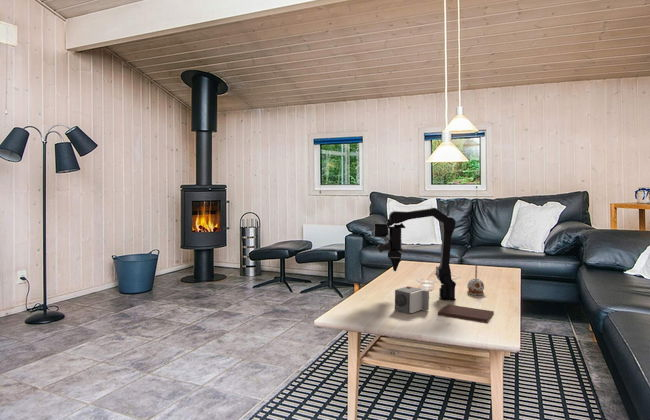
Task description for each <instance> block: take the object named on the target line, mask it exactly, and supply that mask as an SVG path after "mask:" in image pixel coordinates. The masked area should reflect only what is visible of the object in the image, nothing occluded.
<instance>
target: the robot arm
mask: <svg viewBox="0 0 650 420" xmlns="http://www.w3.org/2000/svg"><path fill="white" fill-rule="evenodd" d="M429 217H433V218H435V219H436V220H437V221H438V222H439V223H440V229H441V236H442V238H441V249H440V262H439V265H438V266H435V273H434V275H435V276H436V279H437V280H438V282H440V287H439V291H438V292H439V294H438V296H439V298H440V299H441V300H442V301H456V300H457V299H456V287H457V283H456V282H455V281H454V280H453V279H452V272H451V266H450V263H451V251H452V250H451V247H452V237H453V234H454V231H455V228H456V224H457V222H456V220H455V218H454V217H451V216H447V215H445V213H443V212H441V211H440V210H439V209H438V208H437V207H431V208H425V209H424V208H423V209H417V210H411V211H405V210H404V211H402V210H400V211H399V210H393V211H391V212H390V213H389V214H388V219H387V220H386V221H385V223H378V222H377V223H376V222H375V223H374V227H373V237H374V238H386V237H387V236H388V237H389V239H388V241H387V242H382V243H379V244H378V245H377V250H378V252H379V253H382V252H384V251H388V252H387V258H388V259H389V260H390V261H391V266H392V270H393V272H396V271H397V270H398V267H399V264H400V262H401V259H402V255H403V247H402V229H406V226H405V225H404V224H403V223H404V222H406V221H409V220H414V219H422V218H429Z"/></svg>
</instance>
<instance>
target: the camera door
mask: <svg viewBox="0 0 650 420" xmlns="http://www.w3.org/2000/svg"><path fill="white" fill-rule="evenodd" d="M421 289H422V288H421ZM429 305H430V290H427V289H422V290H418V291H415V292H412V293H410V306H409V314H413V313H417V312H420V311H421V310H422V311H427V312H428V311H429V307H430V306H429Z"/></svg>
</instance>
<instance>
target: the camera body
mask: <svg viewBox="0 0 650 420" xmlns="http://www.w3.org/2000/svg"><path fill="white" fill-rule="evenodd" d="M418 290H422V288H420V287H415V286H414V287H413V286H412V285H411V286H410V285H407V286H404V287H400V288H397V289H394V311H396V312H400V313H404V314H408V315H409V314H410V313H409V306H410V293H412V292H415V291H418Z"/></svg>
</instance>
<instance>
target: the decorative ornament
mask: <svg viewBox="0 0 650 420" xmlns="http://www.w3.org/2000/svg"><path fill="white" fill-rule="evenodd" d="M474 270H475V271H474V278H471V279H469V281H468V283H467V293H468V294H469V295H473V296H481V295H484V294H485V292H484V290H485V284H484V282H483V281H482V280H481V279H480V278H478V264H475V269H474Z"/></svg>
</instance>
